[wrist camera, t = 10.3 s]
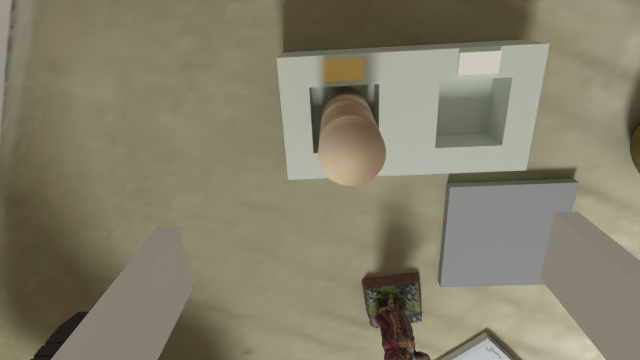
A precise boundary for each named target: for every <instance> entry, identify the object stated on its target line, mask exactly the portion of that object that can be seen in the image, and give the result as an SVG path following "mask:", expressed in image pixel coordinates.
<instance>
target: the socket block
mask: <svg viewBox="0 0 640 360" xmlns="http://www.w3.org/2000/svg"><path fill="white" fill-rule="evenodd" d="M549 45H550V43H543V42H536V41H528V40H503V41H484V42H466V43H448V44H429V45H411V46H392V47H374V48H355V49H337V50H318V51H300V52H283V53H282V54H281V55H280V56H278V57H277V68H278V78H279V89H280V99H281V110H282V120H283V130H284V141H285V151H286V162H287V172H288V180H295V179H320V178H329V177H328V176H327V175H326V174H325V173H324V172H323V170H322V169H321V166H320V164H319V160H318V148H319V138H320V128H321V118H322V108H323V103H324V100H325V98H326V97H327V95H328V94H329V93H330V92H331V91H333V90H334V89H336V88H339V87H344V86H348V87H353V88H355V89H357V90H359V91H360V92H361V93H362V94H363V95H364V97H365V99H366V101H367V103H368V105H369V108H370V110H371V112H372V115H373V117H374V119H375V122H376V124H377V126H378V129H379V131H380V133H381V136H382V138H383V140H384V143H385V147H386V159H385V163H384V166H383V167H382V169H381V171H380V172H379V173H378V174H377V176H396V175H421V174H446V173H472V172H497V171H522V170H526V169H527V164H528V158H529V153H530V148H531V142H532V137H533V131H534V126H535V120H536V115H537V110H538V104H539V99H540V93H541V88H542V82H543V77H544V72H545V66H546V61H547V55H548V50H549Z"/></svg>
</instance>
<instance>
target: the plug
mask: <svg viewBox="0 0 640 360" xmlns="http://www.w3.org/2000/svg"><path fill="white" fill-rule="evenodd" d="M385 159H386V147H385V143H384V140H383V138H382V136H381V133H380V131H379V129H378V126H377V124H376V122H375V119H374V117H373V115H372V112H371V110H370V108H369V105H368V103H367V101H366V99H365V97H364V95H363V94H362V93H361V92H360V91H359V90H357V89H355V88H353V87H348V86H344V87H339V88H336V89H334V90H333V91H331V92H330V93H329V94H328V95H327V97H326V98H325V100H324V103H323V108H322V118H321V128H320V138H319V148H318V160H319V164H320V166H321V169H322V170H323V172H324V173H325V174H326V175H327V176H328V177H329V178H330V179H331V180H333V181H334V182H336V183H339V184H342V185H347V186H356V185H361V184H364V183H366V182H368V181H370V180H372V179H373V178H374V177H376V176H377V174H378V173H379V172H380V171H381V169H382V167H383V166H384V163H385Z"/></svg>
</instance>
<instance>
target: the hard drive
mask: <svg viewBox="0 0 640 360" xmlns="http://www.w3.org/2000/svg"><path fill="white" fill-rule="evenodd" d="M440 360H515V359H514V358H513V357H512V356H511V355H510V354H509V353H507V352H506V351H505V350H504V349H503V348H502V347H501V346H500V345H499V344H498V343H497V342H496V341H495V340H493V339H492V338H491V337H490V336H489V335H488V334H487V333H486V332H484V333H483V334H481V335H479V336H478V337H476V338H474V339H473V340H471V341H469V342H468V343H466V344H465V345H463V346H461V347H460V348H458V349H456V350H455V351H453V352H451V353H450V354H448V355H447V356H445V357H443V358H442V359H440Z"/></svg>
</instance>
